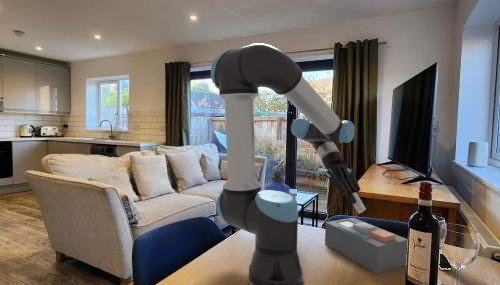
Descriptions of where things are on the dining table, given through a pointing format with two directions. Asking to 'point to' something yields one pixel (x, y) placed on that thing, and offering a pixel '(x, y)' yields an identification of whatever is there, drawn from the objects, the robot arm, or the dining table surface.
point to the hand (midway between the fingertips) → (362, 211)
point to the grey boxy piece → (366, 247)
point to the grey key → (364, 228)
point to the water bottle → (277, 183)
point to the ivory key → (347, 224)
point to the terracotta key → (382, 236)
